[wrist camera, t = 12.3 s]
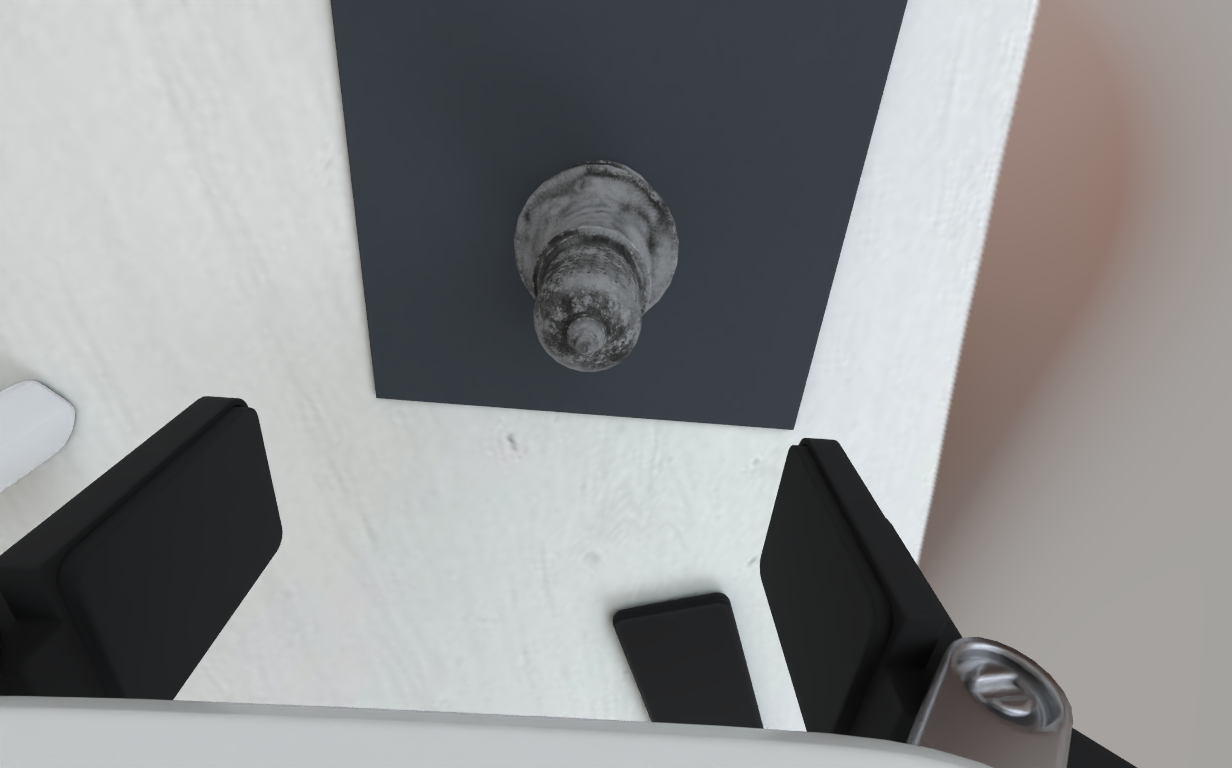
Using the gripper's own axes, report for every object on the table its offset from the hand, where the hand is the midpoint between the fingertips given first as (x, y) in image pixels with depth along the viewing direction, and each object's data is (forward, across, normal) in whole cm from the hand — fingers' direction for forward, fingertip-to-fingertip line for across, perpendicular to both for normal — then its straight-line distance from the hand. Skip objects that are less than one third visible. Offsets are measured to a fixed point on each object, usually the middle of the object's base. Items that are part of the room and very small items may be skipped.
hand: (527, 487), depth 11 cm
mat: (+16, -1, -1) cm, 16 cm away
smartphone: (+17, -9, +27) cm, 33 cm away
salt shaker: (+16, -1, -1) cm, 16 cm away
